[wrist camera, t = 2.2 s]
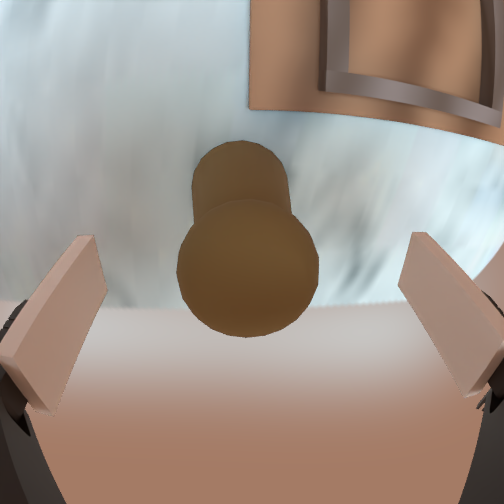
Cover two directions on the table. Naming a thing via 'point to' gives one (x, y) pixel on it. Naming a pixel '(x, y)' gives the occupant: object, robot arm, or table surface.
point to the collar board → (382, 61)
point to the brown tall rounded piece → (245, 245)
